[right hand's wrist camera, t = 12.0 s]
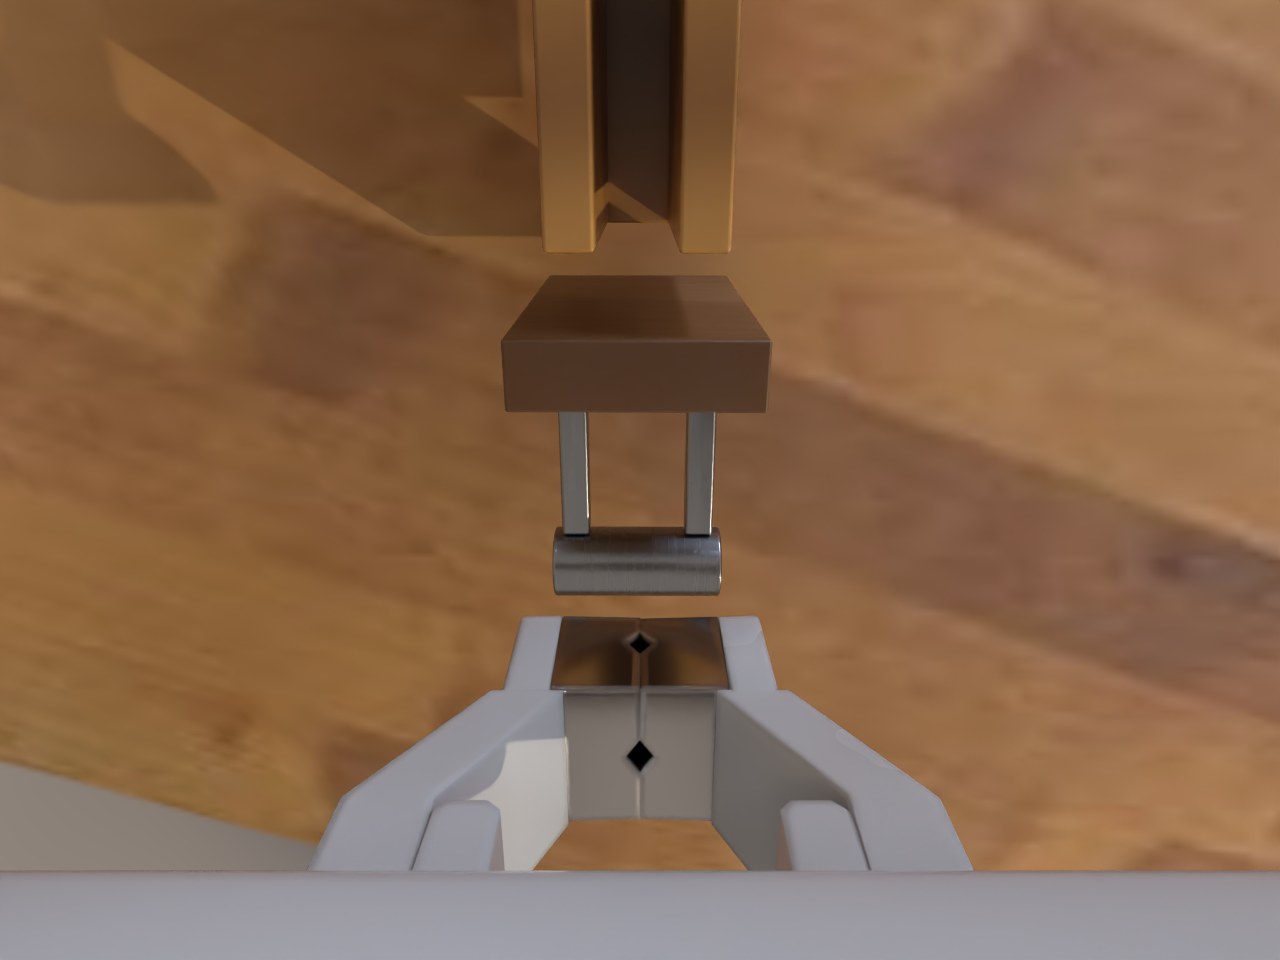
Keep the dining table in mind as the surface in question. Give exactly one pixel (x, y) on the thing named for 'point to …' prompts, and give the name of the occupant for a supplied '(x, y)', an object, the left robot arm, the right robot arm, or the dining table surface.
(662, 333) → the drawer
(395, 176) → the dining table surface
